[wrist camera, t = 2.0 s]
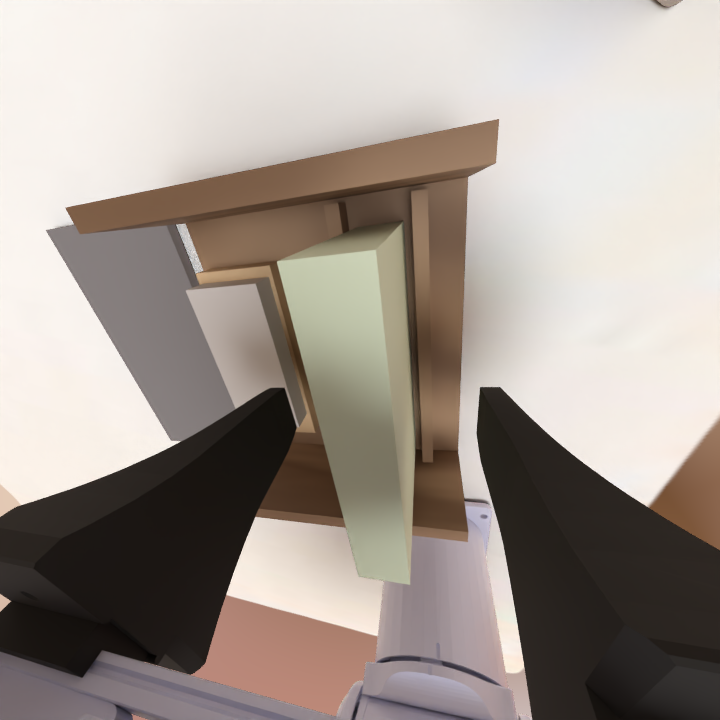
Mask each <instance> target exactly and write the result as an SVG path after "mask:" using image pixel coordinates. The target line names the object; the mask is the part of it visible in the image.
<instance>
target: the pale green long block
mask: <svg viewBox="0 0 720 720" xmlns="http://www.w3.org/2000/svg"><path fill="white" fill-rule="evenodd" d="M277 265H278V269H279V272H280V276H281V280H282V284H283V288H284V292H285V295H286V299H287V303H288V307H289V311H290V315H291V319H292V322H293V326H294V330H295V334H296V338H297V342H298V345H299V349H300V353H301V357H302V361H303V365H304V368H305V372H306V376H307V380H308V384H309V388H310V391H311V395H312V399H313V403H314V407H315V411H316V415H317V418H318V422H319V426H320V430H321V434H322V438H323V441H324V445H325V449H326V453H327V457H328V461H329V464H330V468H331V472H332V476H333V480H334V484H335V487H336V491H337V495H338V499H339V503H340V507H341V511H342V514H343V518H344V522H345V526H346V530H347V534H348V537H349V541H350V545H351V549H352V553H353V557H354V560H355V564H356V568H357V572H358V576H359V577H364V578H370V579H377V580H383V581H389V582H395V583H402V584H408V585H410V574H411V548H412V522H413V496H414V470H415V443H416V429H415V411H414V393H413V376H412V358H411V340H410V322H409V304H408V287H407V269H406V251H405V233H404V221H399V222H391V223H384V224H377V225H370V226H362V227H357V228H355V229H352V230H350V231H347V232H345V233H343V234H340V235H338V236H336V237H333V238H331V239H328V240H326V241H324V242H321V243H319V244H317V245H314V246H312V247H310V248H307V249H305V250H302V251H300V252H298V253H295V254H293V255H291V256H288V257H286V258H284V259H281V260H279V261H277Z"/></svg>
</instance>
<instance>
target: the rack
mask: <svg viewBox="0 0 720 720" xmlns="http://www.w3.org/2000/svg"><path fill="white" fill-rule="evenodd" d="M498 126H499V119H497V120H492V121H487V122H483V123H478V124H473V125H468V126H463V127H458V128H453V129H448V130H443V131H439V132H434V133H429V134H424V135H419V136H414V137H409V138H404V139H399V140H395V141H390V142H385V143H380V144H375V145H370V146H365V147H360V148H355V149H351V150H346V151H341V152H336V153H331V154H326V155H321V156H316V157H311V158H307V159H302V160H297V161H292V162H287V163H282V164H277V165H272V166H267V167H263V168H258V169H253V170H248V171H243V172H238V173H233V174H228V175H223V176H218V177H214V178H209V179H204V180H199V181H194V182H189V183H184V184H179V185H174V186H170V187H165V188H160V189H155V190H150V191H145V192H140V193H135V194H130V195H126V196H121V197H116V198H111V199H106V200H101V201H96V202H91V203H86V204H82V205H77V206H72V207H67V208H66V210H67V212H68V214H69V215H70V217H71V219H72V221H73V223H74V225H75V226H76V228H77V230H78V232H79V234H88V233H98V232H108V231H117V230H127V229H137V228H146V227H156V226H166V225H175V224H185V223H186V225H187V228H188V231H189V233H190V236H191V239H192V241H193V244H194V246H195V249H196V252H197V254H198V257H199V260H200V262H201V265H202V267H203V270H204V271H205V270H208V269H212V268H220V267H229V266H237V265H246V264H255V263H263V262H272V261H279V260H281V259H284V258H286V257H288V256H291V255H293V254H295V253H298V252H300V251H302V250H305V249H307V248H310V247H312V246H314V245H317V244H319V243H321V242H324V241H326V240H328V239H331V238H333V237H336V236H338V235H340V234H343V233H345V232H347V231H350V230H352V229H355V228H357V227H362V226H370V225H377V224H384V223H391V222H399V221H404V233H405V251H406V269H407V287H408V304H409V322H410V340H411V358H412V376H413V393H414V411H415V429H416V443H415V470H414V496H413V522H412V535H413V536H421V537H429V538H438V539H446V540H455V541H463V542H468V525H467V517H466V509H465V502H464V494H463V486H462V479H461V471H460V463H459V456H458V435H459V407H460V380H461V353H462V325H463V298H464V271H465V243H466V216H467V189H468V177H469V176H471V175H473V174H475V173H477V172H479V171H481V170H483V169H485V168H487V167H489V166H491V165H493V164H495V163H496V153H497V140H498ZM255 517H262V518H271V519H279V520H287V521H296V522H304V523H312V524H321V525H329V526H337V527H346V526H345V522H344V518H343V514H342V511H341V507H340V503H339V499H338V495H337V491H336V487H335V484H334V480H333V476H332V472H331V468H330V464H329V461H328V457H327V453H326V449H325V445H324V441H323V438H322V434H321V430H320V426H318V428H317V430H316V432H315V433H308V432H295V435H294V438H293V441H292V443H291V446H290V449H289V451H288V453H287V455H286V457H285V459H284V461H283V463H282V465H281V467H280V469H279V471H278V473H277V475H276V476H275V478H274V480H273V482H272V484H271V486H270V488H269V490H268V492H267V494H266V495H265V497H264V499H263V501H262V503H261V505H260V507H259V509H258V512H257V514H256V516H255Z"/></svg>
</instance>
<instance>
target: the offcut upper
mask: <svg viewBox="0 0 720 720" xmlns="http://www.w3.org/2000/svg"><path fill="white" fill-rule="evenodd" d="M186 293H187V295H188V298H189V300H190V302H191V305H192V307H193V309H194V312H195V314H196V316H197V319H198V321H199V324H200V326H201V328H202V331H203V333H204V335H205V338H206V340H207V342H208V345H209V347H210V349H211V352H212V354H213V357H214V359H215V361H216V364H217V366H218V368H219V371H220V373H221V375H222V378H223V380H224V383H225V385H226V387H227V390H228V392H229V394H230V397H231V399H232V401H233V404H234V406H235V409H236V408H238V407H240V406H241V405H243V404H244V403H246V402H247V401H249V400H250V399H252V398H254V397H255V396H257V395H258V394H260V393H262V392H263V391H265V390H267V389H269V388H285V390H286V394H287V397H288V400H289V403H290V406H291V410H292V413H293V416H294V419H295V422H296V426H297V427H300V425H301V423H302V422H303V420H304V418H305V416H306V414H307V412H306V408H305V405H304V401H303V398H302V394H301V391H300V387H299V383H298V380H297V376H296V373H295V369H294V366H293V362H292V358H291V355H290V351H289V348H288V344H287V340H286V337H285V333H284V330H283V326H282V323H281V319H280V315H279V312H278V308H277V305H276V301H275V298H274V294H273V290H272V287H271V283H270V280H269V277H263V278H254V279H244V280H234V281H224V282H215V283H205V284H201V285H198V286H196V287H193V288H190V289H188V290H186Z"/></svg>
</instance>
